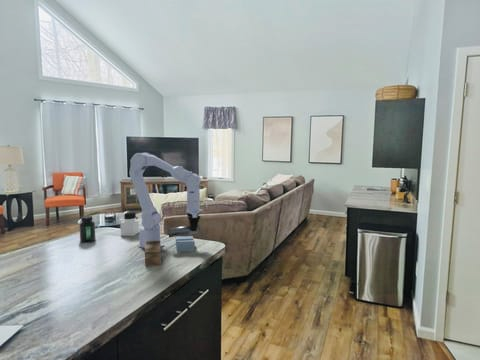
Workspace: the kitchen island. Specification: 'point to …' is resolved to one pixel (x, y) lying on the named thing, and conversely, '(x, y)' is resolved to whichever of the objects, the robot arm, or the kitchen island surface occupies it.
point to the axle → (182, 231)
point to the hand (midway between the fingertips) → (193, 229)
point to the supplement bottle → (87, 229)
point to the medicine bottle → (129, 224)
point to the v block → (185, 244)
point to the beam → (152, 253)
